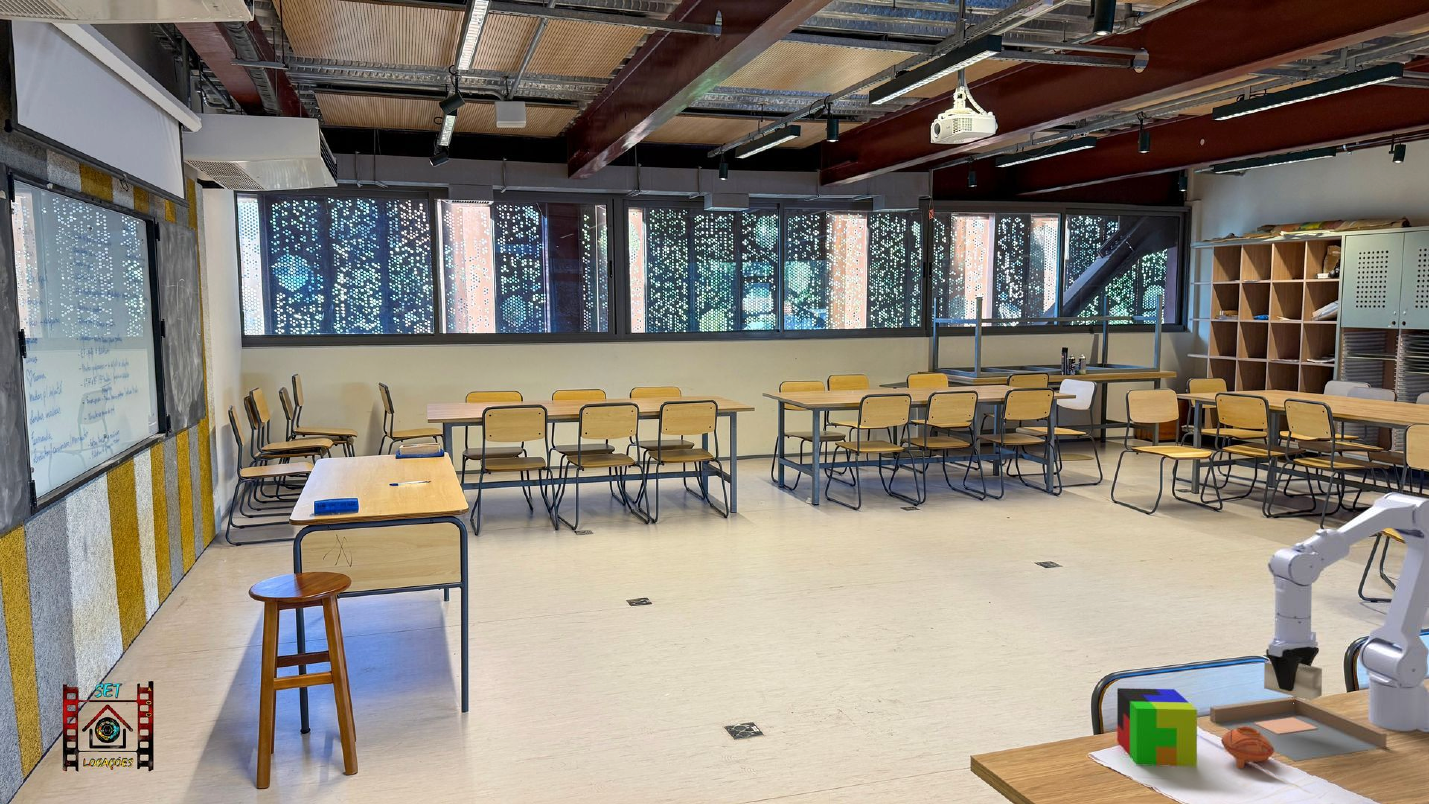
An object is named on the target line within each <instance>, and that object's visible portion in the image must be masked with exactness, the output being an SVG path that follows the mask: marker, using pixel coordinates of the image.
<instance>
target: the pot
mask: <svg viewBox="0 0 1429 804" xmlns="http://www.w3.org/2000/svg"><path fill="white" fill-rule="evenodd" d="M1220 741H1221V744H1222V746H1223V748H1225V750H1226V751H1227V752H1228V753H1229V754H1230V755H1231V756H1233V757H1234V758H1235V761H1236V765H1237V767H1238V769H1240V770H1241V769H1242V770H1243V768H1244V766H1245V763H1246V762H1248V763H1259V762H1260V763H1261V762H1268V761H1269V758H1270V757H1272V755H1273V754H1274V748H1273V747H1272V745H1271V743H1270V742H1269V741H1268V740H1267V739H1266V738H1265V737H1264V736H1263V735H1261V734H1260V731H1258V730H1256V729H1254V728H1251V727H1246V726H1241V727H1236V729H1233V730H1229V731H1227V732H1226V733H1225V734H1224V735H1222V737H1221V739H1220Z"/></svg>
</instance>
